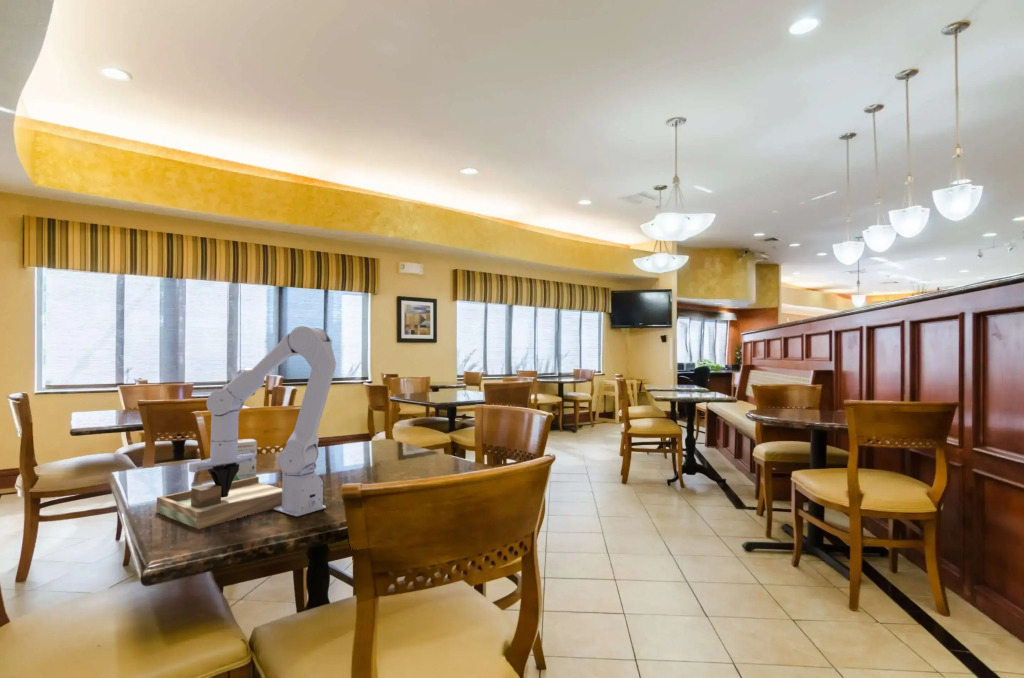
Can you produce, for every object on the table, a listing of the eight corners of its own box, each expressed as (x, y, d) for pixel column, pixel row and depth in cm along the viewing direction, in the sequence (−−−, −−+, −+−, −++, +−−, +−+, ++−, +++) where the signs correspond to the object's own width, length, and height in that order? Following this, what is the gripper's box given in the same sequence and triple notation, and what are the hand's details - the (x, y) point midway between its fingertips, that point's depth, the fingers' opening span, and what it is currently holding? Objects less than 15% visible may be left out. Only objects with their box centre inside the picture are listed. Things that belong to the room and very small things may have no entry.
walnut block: (220, 503, 116) (221, 486, 116) (200, 508, 112) (200, 490, 112) (211, 500, 118) (211, 483, 118) (190, 505, 114) (191, 487, 114)
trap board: (300, 501, 124) (300, 487, 124) (198, 529, 104) (199, 512, 104) (256, 489, 135) (256, 476, 135) (156, 512, 115) (156, 497, 115)
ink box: (223, 485, 139) (224, 443, 139) (219, 481, 143) (220, 441, 143) (256, 480, 145) (257, 440, 145) (252, 477, 148) (252, 438, 149)
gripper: (245, 434, 127) (243, 487, 126) (183, 442, 114) (181, 501, 114) (260, 437, 123) (259, 491, 122) (198, 445, 111) (196, 506, 110)
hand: (222, 496), depth 118 cm, fingers closed
